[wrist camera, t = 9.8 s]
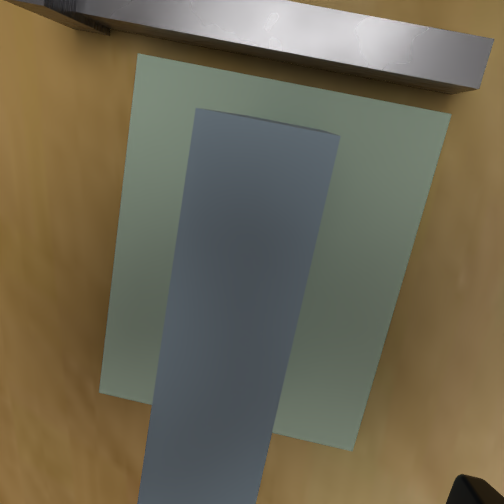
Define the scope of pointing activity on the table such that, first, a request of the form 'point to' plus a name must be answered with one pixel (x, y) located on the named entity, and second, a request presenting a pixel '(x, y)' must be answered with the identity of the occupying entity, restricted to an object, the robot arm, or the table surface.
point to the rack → (292, 36)
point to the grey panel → (233, 304)
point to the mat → (326, 249)
